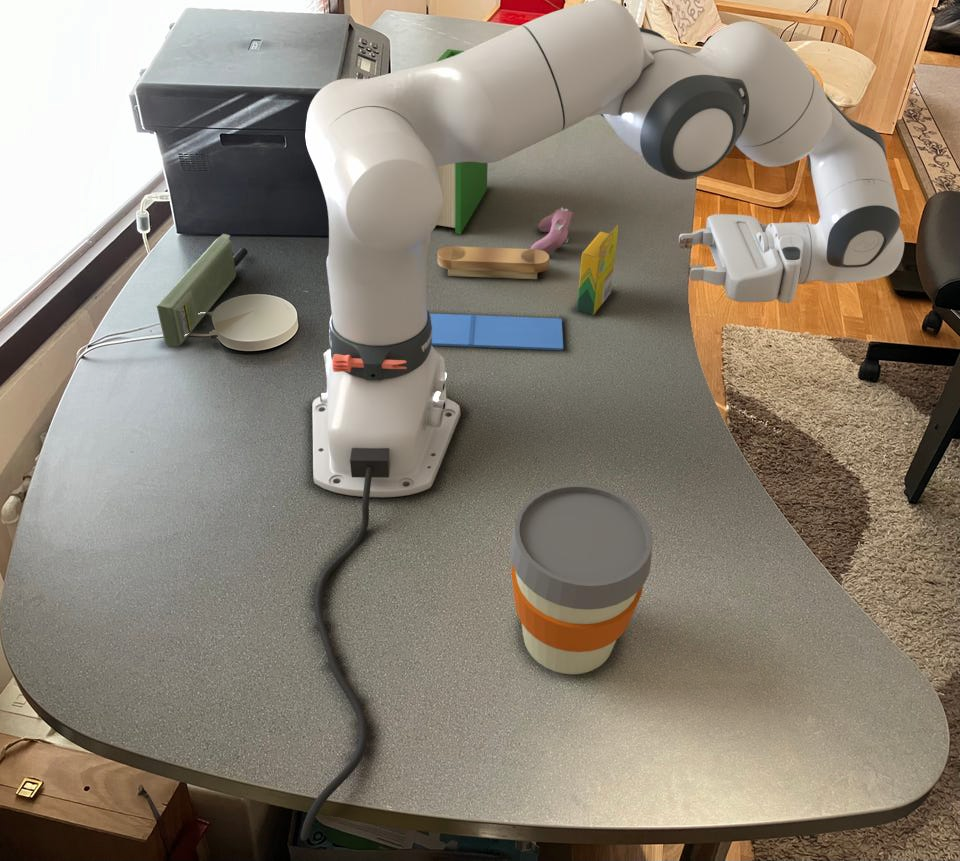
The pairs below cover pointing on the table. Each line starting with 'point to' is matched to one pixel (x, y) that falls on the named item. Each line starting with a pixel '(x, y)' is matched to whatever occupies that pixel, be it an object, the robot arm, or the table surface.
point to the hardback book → (460, 185)
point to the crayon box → (597, 272)
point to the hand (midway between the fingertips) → (684, 256)
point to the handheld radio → (198, 290)
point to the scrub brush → (493, 262)
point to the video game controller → (554, 230)
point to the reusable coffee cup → (577, 573)
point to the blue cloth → (497, 331)
